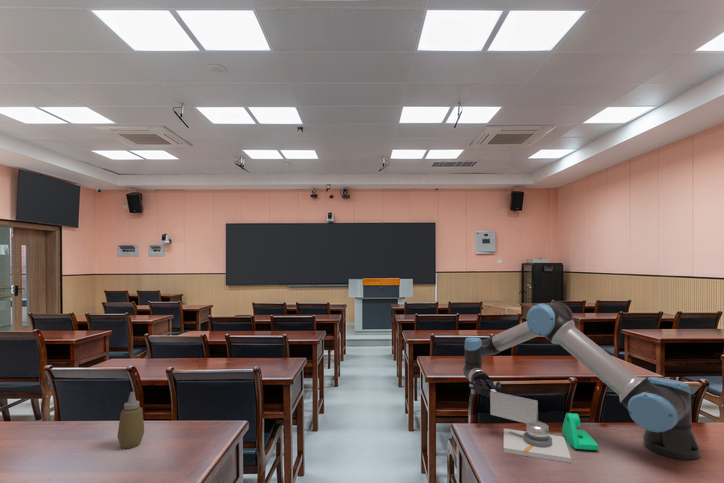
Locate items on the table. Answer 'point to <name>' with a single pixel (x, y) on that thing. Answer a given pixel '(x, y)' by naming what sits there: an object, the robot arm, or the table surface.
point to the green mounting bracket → (577, 433)
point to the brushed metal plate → (519, 413)
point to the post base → (536, 446)
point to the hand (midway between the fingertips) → (497, 398)
